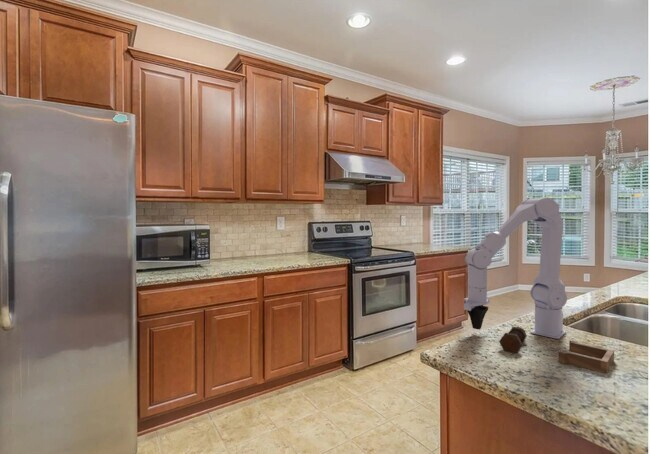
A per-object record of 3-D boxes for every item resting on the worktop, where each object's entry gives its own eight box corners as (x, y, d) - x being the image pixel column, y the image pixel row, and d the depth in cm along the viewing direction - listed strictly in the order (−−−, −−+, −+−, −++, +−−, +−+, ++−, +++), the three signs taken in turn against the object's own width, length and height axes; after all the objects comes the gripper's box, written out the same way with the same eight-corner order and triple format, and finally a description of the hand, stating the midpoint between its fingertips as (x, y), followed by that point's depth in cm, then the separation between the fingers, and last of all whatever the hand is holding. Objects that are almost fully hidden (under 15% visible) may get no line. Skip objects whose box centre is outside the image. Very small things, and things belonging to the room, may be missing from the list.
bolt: (522, 344, 109) (512, 357, 97) (506, 333, 111) (495, 345, 100) (533, 329, 107) (525, 342, 95) (517, 319, 109) (507, 329, 98)
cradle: (570, 349, 99) (570, 339, 99) (614, 359, 92) (614, 349, 92) (557, 362, 90) (557, 351, 90) (605, 375, 83) (606, 363, 83)
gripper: (474, 282, 119) (474, 321, 120) (454, 288, 110) (454, 330, 110) (496, 285, 114) (495, 325, 115) (477, 291, 104) (476, 336, 105)
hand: (476, 328), depth 112 cm, fingers closed
